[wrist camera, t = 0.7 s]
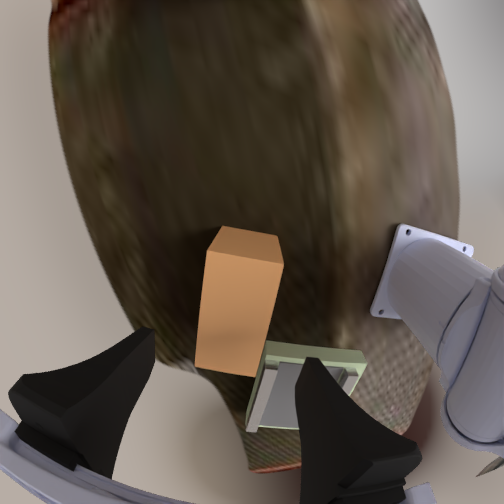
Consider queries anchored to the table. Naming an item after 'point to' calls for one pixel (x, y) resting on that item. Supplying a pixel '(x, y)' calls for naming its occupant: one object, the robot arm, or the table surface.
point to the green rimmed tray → (294, 380)
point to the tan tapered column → (237, 300)
